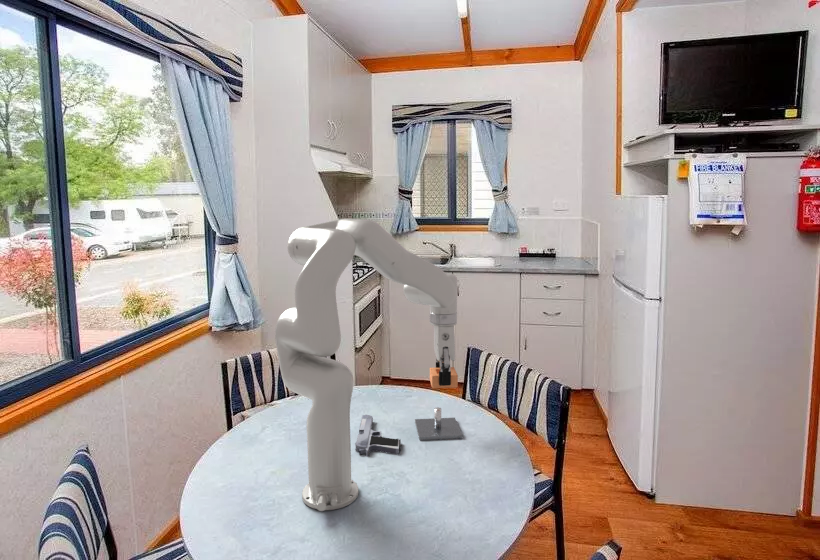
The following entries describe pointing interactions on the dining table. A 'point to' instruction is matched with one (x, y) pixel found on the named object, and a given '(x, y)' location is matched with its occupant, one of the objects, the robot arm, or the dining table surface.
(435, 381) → the orange square ring block
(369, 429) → the handgun
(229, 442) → the dining table surface
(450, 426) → the plate
